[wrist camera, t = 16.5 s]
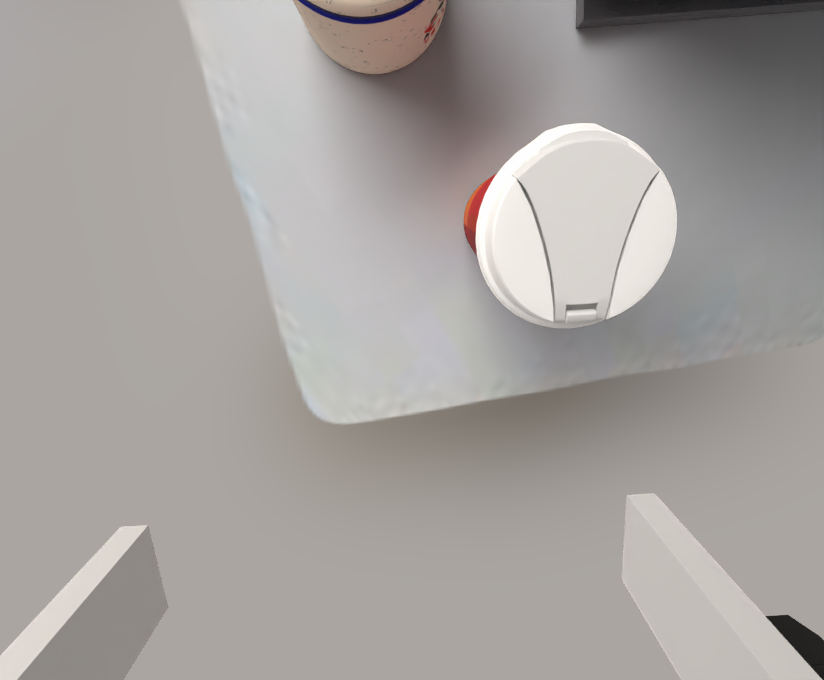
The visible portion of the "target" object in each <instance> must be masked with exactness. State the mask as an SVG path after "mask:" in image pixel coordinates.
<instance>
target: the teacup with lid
mask: <svg viewBox="0 0 824 680" xmlns="http://www.w3.org/2000/svg"><path fill="white" fill-rule="evenodd" d="M293 2H294V4H295V6H296V8H297V9H298V11H299V13H300V15H301V17H302V19H303V21H304V23H305V25H306V27H307V29H308V31H309V32H310V34H311V36H312V37H313V39H314V40H315V42H316V43H317V44H318V46H319V47H320V48H321V49H322V50H323V51H324V52H325V53H326V54H327V55H328V56H329V57H330V58H331V59H333V60H334V61H335V62H337V63H339V64H340V65H342V66H344V67H346V68H348V69H350V70H353V71H356V72H360V73H366V74H383V73H389V72H392V71H396V70H398V69H400V68H403V67H405V66H406V65H408V64H410V63H411V62H413V61H414V60H415V59H417V58H418V57H419V56H420V55H421V54H422V53H423V52H424V51H425V50H426V49H427V47H428V46H429V45H430V44H431V42H432V40H433V39H434V37H435V35H436V34H437V32H438V30H439V27H440V25H441V22H442V19H443V16H444V12H445V8H446V2H447V0H293Z"/></svg>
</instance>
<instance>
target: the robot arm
mask: <svg viewBox="0 0 824 680" xmlns="http://www.w3.org/2000/svg"><path fill="white" fill-rule="evenodd" d="M622 581H623V583H624V584H625V586H626V588H627V589H628V591H629V593H630V594H631V596H632V598H633V599H634V601H635V603H636V605H637V606H638V608H639V610H640V611H641V613H642V615H643V616H644V618H645V620H646V621H647V623H648V625H649V627H650V628H651V630H652V632H653V633H654V635H655V637H656V638H657V640H658V642H659V643H660V645H661V647H662V649H663V650H664V652H665V654H666V655H667V657H668V659H669V660H670V662H671V664H672V665H673V667H674V669H675V670H676V672H677V674H678V675H679V677H680V679H681V680H824V640H823V639H822V638H821V637H820V636H818V635H817V634H815V633H814V632H812V631H811V630H809V629H808V628H806V627H805V626H803V625H802V624H800V623H799V622H797V621H796V620H795V619H793V618H792V617H790V616H789V615H779V616H765V615H764V614H763V613H762V612H761V611H760V610H759V609H758V608H757V607H756V606H755V604H754V603H753V602H752V601H751V600H750V599H749V598H748V597H747V595H746V594H745V593H744V592H743V591H742V590H741V589H740V588H739V586H738V585H737V584H736V583H735V582H734V581H733V580H732V579H731V578H730V577H729V575H728V574H727V573H726V572H725V571H724V570H723V569H722V568H721V566H720V565H718V563H717V562H716V561H715V560H714V559H713V558H712V557H711V556H710V554H709V553H708V552H707V551H706V550H705V549H704V548H703V546H701V544H700V543H699V542H698V541H697V540H696V539H695V538H694V536H693V535H692V534H691V533H690V532H689V531H688V530H687V529H686V528H685V526H684V525H683V524H682V523H681V522H680V521H679V520H678V519H677V518H676V516H675V515H674V514H673V513H672V512H671V511H670V510H669V509H668V508H667V506H666V505H665V504H664V503H663V502H662V501H661V500H660V499H659V498H658V497H657V495H655V494H654V493H652V494H651V493H650V494H636V495H626V512H625V531H624V547H623V565H622ZM167 608H168V605H167V600H166V596H165V592H164V588H163V584H162V580H161V576H160V572H159V567H158V563H157V559H156V555H155V551H154V547H153V543H152V539H151V534H150V531H149V526H148V525H145V526H128V527H120V528H119V529H118V530H117V532H116V533H115V534H114V535H113V536H112V537H111V538H110V539H109V540H108V541H107V542H106V543H105V544H104V545H103V546H102V547H101V549H100V550H99V551H98V552H97V553H96V554H95V555H94V556H93V557H92V558H91V559H90V560H89V561H88V563H87V564H86V565H85V566H84V567H83V568H82V569H81V570H80V571H79V572H78V573H77V574H76V575H75V576H74V577H73V578H72V580H71V581H70V582H69V583H68V584H67V585H66V586H65V587H64V588H63V589H62V590H61V591H60V592H59V593H58V595H57V596H56V597H55V598H54V599H53V600H52V601H51V602H50V603H49V604H48V605H47V606H46V607H45V608H44V609H43V611H42V612H41V613H40V614H39V615H38V616H37V617H36V618H35V619H34V620H33V621H32V622H31V623H30V624H29V626H28V627H27V628H26V629H25V630H24V631H23V632H22V633H21V634H20V635H19V636H18V637H17V638H16V639H15V641H14V642H13V643H12V644H11V645H10V646H9V647H8V648H7V649H6V650H5V651H4V652H3V653H2V654H1V655H0V680H124V678H125V676H126V675H127V673H128V672H129V670H130V668H131V667H132V665H133V664H134V662H135V660H136V659H137V657H138V655H139V653H140V652H141V651H142V649H143V647H144V646H145V644H146V643H147V641H148V639H149V638H150V636H151V634H152V633H153V631H154V629H155V628H156V626H157V625H158V623H159V621H160V620H161V618H162V617H163V615H164V613H165V612H166V610H167Z"/></svg>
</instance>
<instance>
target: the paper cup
mask: <svg viewBox="0 0 824 680" xmlns="http://www.w3.org/2000/svg"><path fill="white" fill-rule="evenodd" d="M464 230H465V234H466V237H467V240H468V242H469V244H470V246H471V248H472V249H473V251H474V253H475V254H476V256H477V257H478V261H479V265H480V269H481V272H482V274H483V276H484V278H485V281H486V283H487V285H488V286H489V288H490V289H491V291H492V292H493V294H494V295H495V296H496V297H497V299H498V300H499V301H500V302H501V303H502V304H503V305H504V306H505V307H506V308H508V309H509V310H510V311H511V312H513V313H514V314H515V315H517V316H519V317H521V318H523V319H525V320H526V321H528V322H531V323H534V324H537V325H540V326H545V327H550V328H565V329H570V328H578V327H585V326H588V325H592V324H595V323H598V322H601V321H603V320H605V319H610V318H612V317H614V316H616V315H618V314H621V313H622V312H624V311H625V310H627V309H629V308H630V307H632V306H633V305H634V304H636V303H637V302H638V301H639V300H640V299H642V298H643V297H644V296H645V295H646V294H647V293H648V292H649V290H650V289H651V288H652V287H653V286H654V285H655V283H656V282H657V280H658V279H659V277H660V276H661V275H662V273H663V271H664V269H665V267H666V265H667V263H668V261H669V259H670V256H671V253H672V250H673V247H674V243H675V238H676V232H677V211H676V203H675V199H674V195H673V192H672V189H671V186H670V184H669V182H668V180H667V178H666V176H665V174H664V173H663V172H662V170H661V169H660V168H659V167H658V166H657V165H656V164H655V162H654V161H653V160H652V158H651V157H650V156H649V155H648V154H647V153H646V152H645V151H644V150H643V149H642V148H641V147H640V146H639V145H637V144H636V143H634V142H633V141H631V140H629V139H628V138H626V137H625V136H622V135H620V134H617V133H615V132H612V131H610V130H607V129H605V128H603V127H601V126H599V125H597V124H595V123H576V124H569V125H562V126H559V127H556V128H553V129H550V130H547V131H545V132H543V133H542V134H541V135H539V136H538V137H537V138H536V139H534V140H533V141H532V142H530V143H529V144H528V145H526V146H525V147H524V148H522V149H521V150H519V151H518V152H517V153H515V154H514V155H513V156H512V157H511V158H510V159H509V160H508V161H507V162H506V163H505V164H504V165H503V167H502V168H501V169H500V171H499V172H498V173H497V174H495V175H494V176H492V177H491V178H489V179H488V180H486V181H485V182H484V183H482V184H481V185H480V186H479V187H478V188H477V189H476V190H475V192H474V193H473V194H472V196H471V197H470V199H469V201H468V203H467V206H466V209H465V213H464Z"/></svg>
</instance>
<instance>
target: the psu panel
mask: <svg viewBox="0 0 824 680" xmlns="http://www.w3.org/2000/svg"><path fill="white" fill-rule="evenodd" d="M811 10H824V0H577V1H576V28H588V27H601V26H614V25H627V24H640V23H653V22H667V21H680V20H693V19H706V18H719V17H732V16H745V15H759V14H772V13H785V12H798V11H811Z"/></svg>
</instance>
